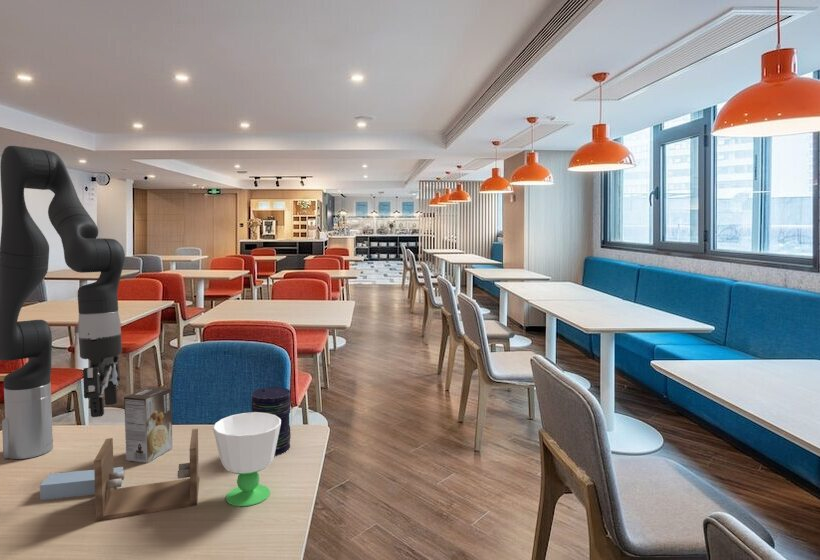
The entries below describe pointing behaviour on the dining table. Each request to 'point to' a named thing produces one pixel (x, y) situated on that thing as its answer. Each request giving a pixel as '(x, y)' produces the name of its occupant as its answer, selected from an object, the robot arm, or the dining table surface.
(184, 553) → the dining table surface
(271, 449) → the cup
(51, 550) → the dining table surface
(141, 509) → the peg frame
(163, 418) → the coffee box
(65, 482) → the light blue rectangular block
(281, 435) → the dark blue cylinder
